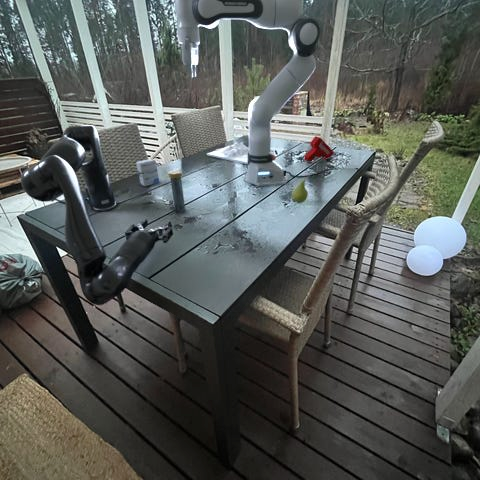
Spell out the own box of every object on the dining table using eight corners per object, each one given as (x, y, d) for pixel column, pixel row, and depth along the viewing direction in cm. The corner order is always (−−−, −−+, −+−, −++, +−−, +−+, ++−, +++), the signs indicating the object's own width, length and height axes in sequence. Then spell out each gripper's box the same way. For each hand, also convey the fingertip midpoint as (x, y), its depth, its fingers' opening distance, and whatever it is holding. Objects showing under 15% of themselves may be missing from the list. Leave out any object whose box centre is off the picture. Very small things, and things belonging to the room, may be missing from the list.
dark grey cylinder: (174, 210, 115) (168, 172, 106) (184, 208, 117) (179, 170, 108) (176, 214, 112) (170, 175, 103) (186, 212, 113) (181, 173, 104)
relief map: (248, 164, 168) (248, 156, 165) (206, 155, 186) (206, 147, 183) (271, 154, 186) (271, 146, 183) (231, 147, 204) (231, 140, 201)
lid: (167, 174, 107) (166, 171, 106) (180, 173, 109) (179, 169, 108) (170, 179, 103) (169, 175, 102) (183, 177, 105) (183, 173, 104)
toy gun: (305, 158, 165) (319, 136, 162) (300, 157, 168) (315, 135, 166) (320, 172, 177) (334, 152, 174) (316, 170, 180) (329, 151, 177)
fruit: (288, 200, 123) (290, 174, 116) (302, 197, 125) (305, 172, 119) (296, 206, 118) (299, 179, 111) (310, 203, 120) (314, 177, 114)
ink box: (155, 180, 146) (151, 158, 140) (159, 182, 143) (156, 160, 136) (140, 184, 141) (135, 161, 134) (145, 186, 138) (140, 163, 131)
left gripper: (156, 240, 77) (176, 214, 91) (110, 236, 79) (136, 211, 93) (161, 261, 82) (179, 233, 95) (117, 257, 83) (141, 230, 97)
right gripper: (192, 35, 104) (196, 77, 111) (199, 40, 121) (202, 76, 128) (176, 35, 104) (180, 78, 111) (185, 40, 121) (188, 76, 128)
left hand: (158, 222), depth 94 cm, fingers open, 8 cm apart
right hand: (192, 77), depth 120 cm, fingers open, 8 cm apart
